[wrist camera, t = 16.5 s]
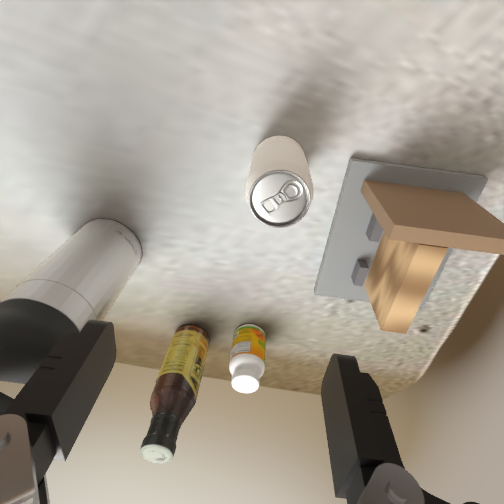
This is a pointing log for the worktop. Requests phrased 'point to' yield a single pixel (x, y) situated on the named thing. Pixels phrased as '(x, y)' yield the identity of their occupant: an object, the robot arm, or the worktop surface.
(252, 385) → the supplement bottle
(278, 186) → the can
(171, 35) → the worktop surface
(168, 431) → the sauce bottle
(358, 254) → the grey and brown stand
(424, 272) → the long tan wooden block
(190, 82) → the worktop surface
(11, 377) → the robot arm
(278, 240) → the worktop surface
